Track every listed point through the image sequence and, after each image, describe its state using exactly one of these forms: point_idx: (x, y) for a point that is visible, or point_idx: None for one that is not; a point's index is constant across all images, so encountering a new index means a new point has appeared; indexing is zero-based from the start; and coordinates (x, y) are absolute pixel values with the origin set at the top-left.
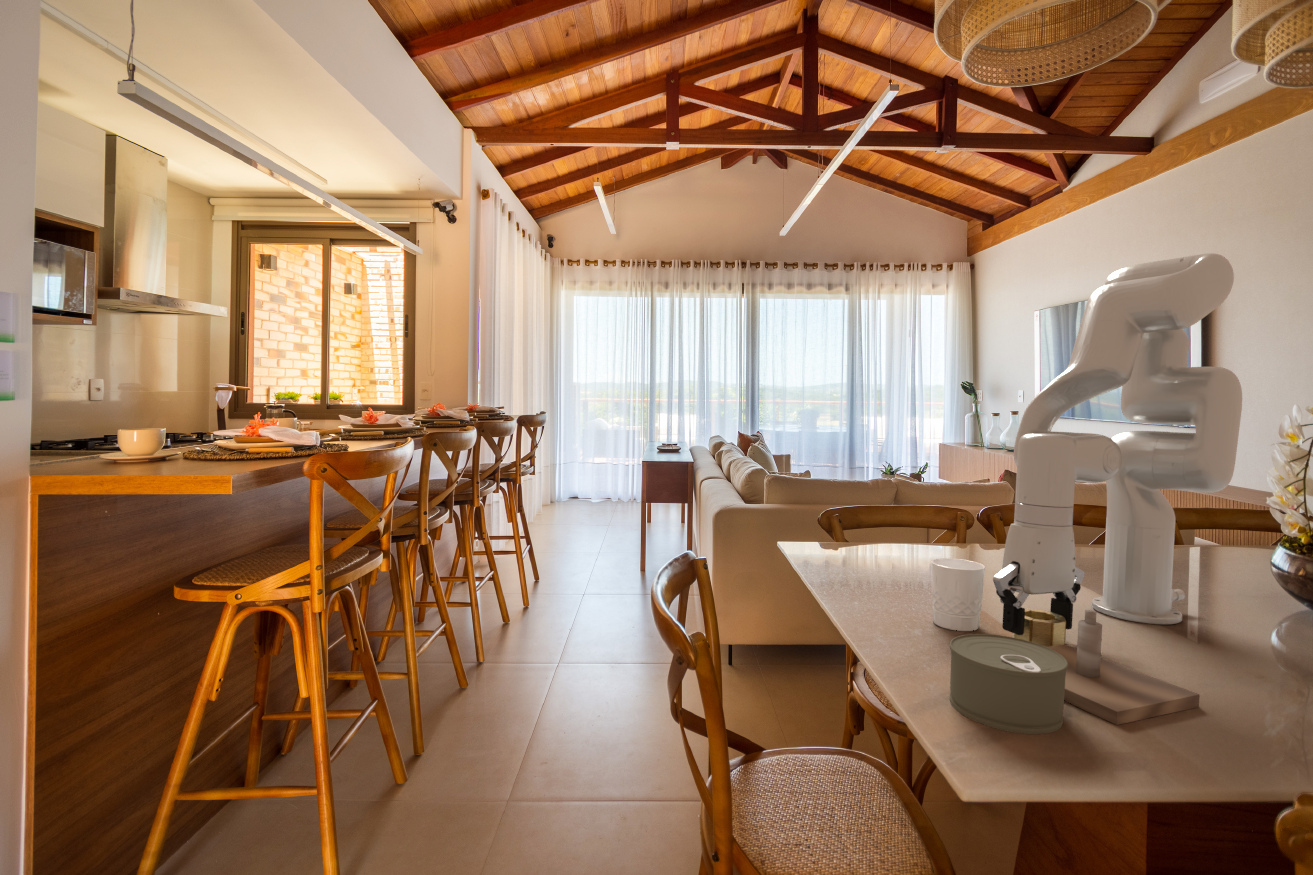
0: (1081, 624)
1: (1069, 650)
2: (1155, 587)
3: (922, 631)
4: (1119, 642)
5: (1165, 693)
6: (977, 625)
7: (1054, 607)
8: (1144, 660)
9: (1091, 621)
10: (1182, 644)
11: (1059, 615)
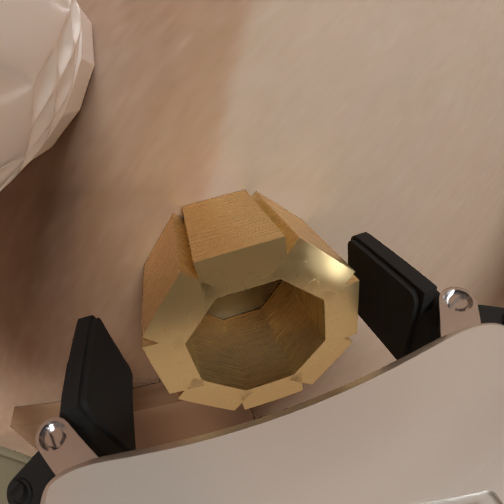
0: None
1: (217, 414)
2: None
3: None
4: (440, 268)
5: None
6: (51, 145)
7: (390, 293)
8: (380, 360)
9: None
10: (499, 272)
11: (350, 331)
